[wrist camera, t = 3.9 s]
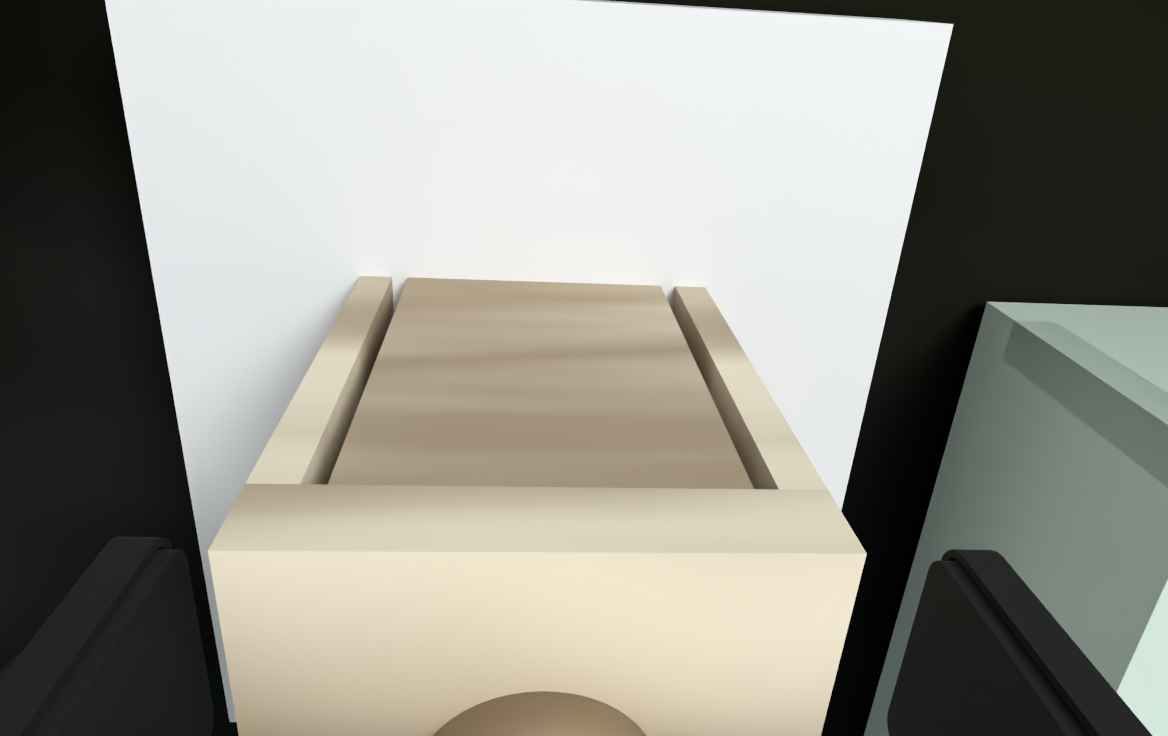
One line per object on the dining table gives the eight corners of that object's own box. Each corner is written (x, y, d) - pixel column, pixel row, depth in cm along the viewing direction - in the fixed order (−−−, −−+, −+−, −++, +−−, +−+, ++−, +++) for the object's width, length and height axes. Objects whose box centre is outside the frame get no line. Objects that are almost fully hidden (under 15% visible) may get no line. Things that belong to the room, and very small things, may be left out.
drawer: (360, 275, 13) (127, 694, 5) (705, 287, 13) (948, 685, 6) (377, 558, 15) (233, 1132, 8) (670, 559, 16) (809, 1099, 8)
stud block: (160, -28, 13) (-206, -40, 6) (896, 19, 14) (1221, 48, 7) (257, 650, 19) (119, 999, 12) (769, 647, 20) (888, 967, 13)
